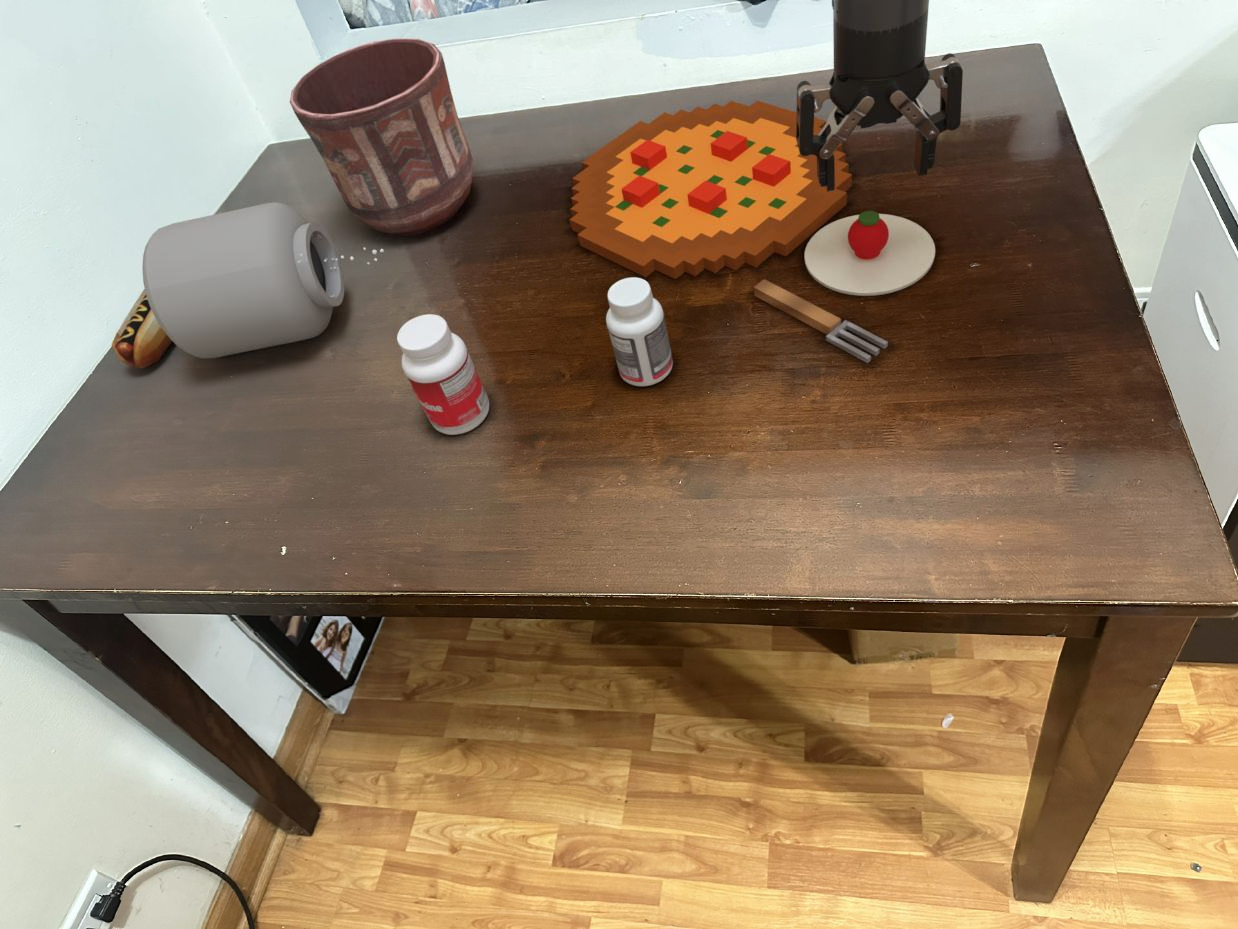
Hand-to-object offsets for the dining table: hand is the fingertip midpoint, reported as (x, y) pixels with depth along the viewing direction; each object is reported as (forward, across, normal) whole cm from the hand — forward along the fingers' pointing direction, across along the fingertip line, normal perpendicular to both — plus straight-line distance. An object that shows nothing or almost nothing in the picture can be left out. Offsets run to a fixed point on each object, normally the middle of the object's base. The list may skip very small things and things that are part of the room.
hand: (874, 179), depth 83 cm
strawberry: (+8, 0, 0) cm, 9 cm away
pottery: (+8, -52, +23) cm, 58 cm away
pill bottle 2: (+9, -24, -12) cm, 28 cm away
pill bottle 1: (+9, -43, -15) cm, 46 cm away
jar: (+8, -63, +5) cm, 64 cm away
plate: (+9, 0, 0) cm, 9 cm away
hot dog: (+8, -82, +5) cm, 82 cm away
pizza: (+9, -16, +17) cm, 25 cm away
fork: (+9, -7, -9) cm, 14 cm away
